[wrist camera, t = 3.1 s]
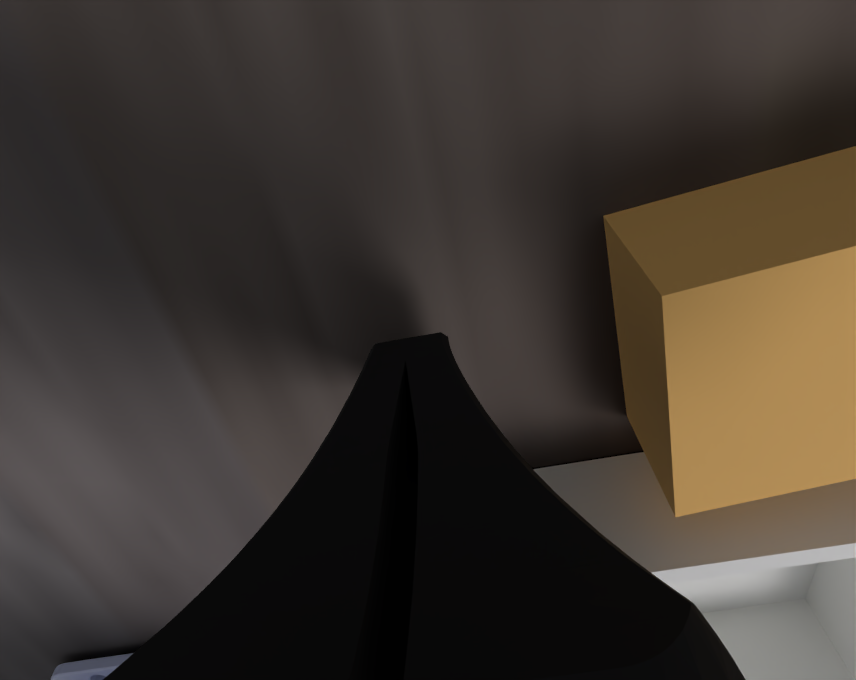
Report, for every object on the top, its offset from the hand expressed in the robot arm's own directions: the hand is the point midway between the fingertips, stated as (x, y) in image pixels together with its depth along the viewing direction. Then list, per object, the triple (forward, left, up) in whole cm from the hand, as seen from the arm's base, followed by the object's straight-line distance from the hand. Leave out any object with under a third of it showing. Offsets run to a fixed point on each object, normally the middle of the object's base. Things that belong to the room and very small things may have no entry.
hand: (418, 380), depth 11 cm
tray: (+5, -8, -1) cm, 9 cm away
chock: (+7, 0, -1) cm, 7 cm away
